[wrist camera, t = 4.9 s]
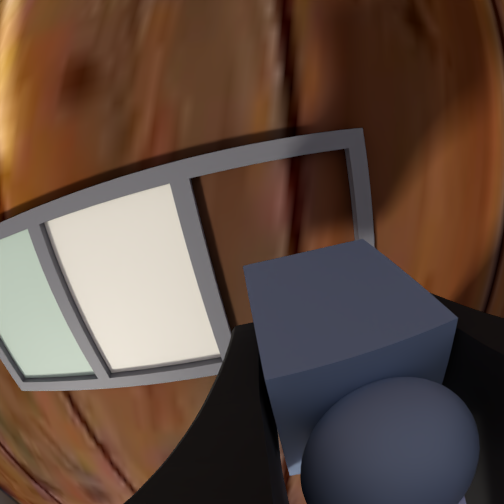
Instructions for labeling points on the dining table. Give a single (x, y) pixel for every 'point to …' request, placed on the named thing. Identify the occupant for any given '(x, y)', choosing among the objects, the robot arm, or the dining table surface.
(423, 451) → the pawn
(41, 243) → the game board
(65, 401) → the dining table surface
